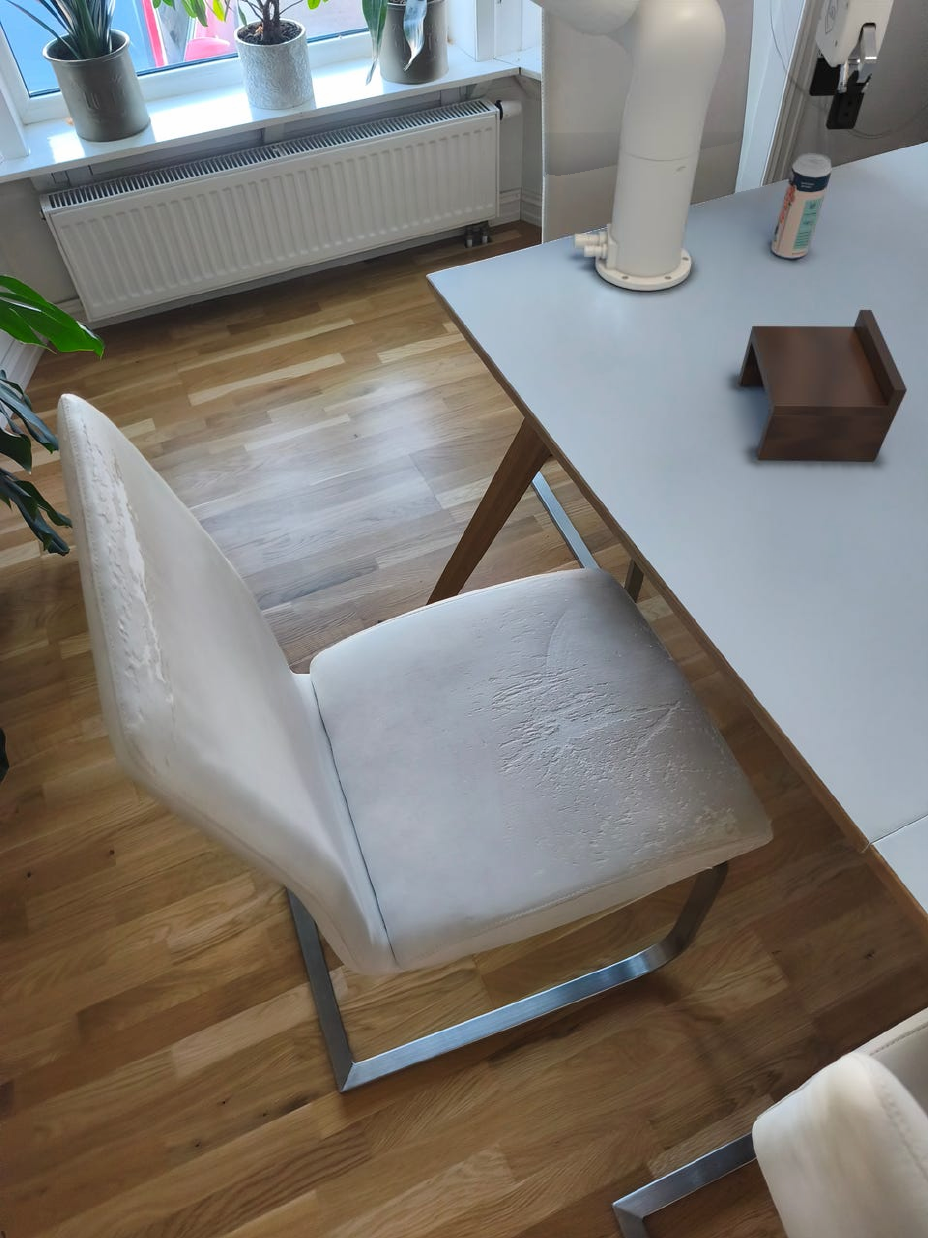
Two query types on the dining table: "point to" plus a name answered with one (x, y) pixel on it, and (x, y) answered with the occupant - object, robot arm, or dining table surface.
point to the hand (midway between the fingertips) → (830, 110)
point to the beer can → (801, 205)
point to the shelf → (824, 390)
